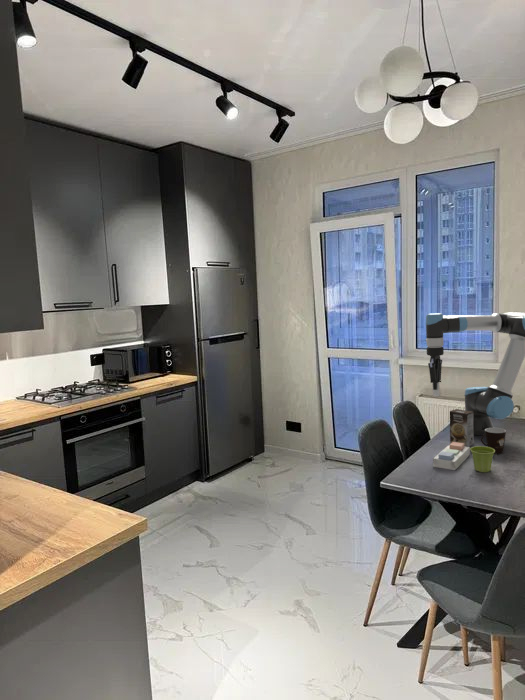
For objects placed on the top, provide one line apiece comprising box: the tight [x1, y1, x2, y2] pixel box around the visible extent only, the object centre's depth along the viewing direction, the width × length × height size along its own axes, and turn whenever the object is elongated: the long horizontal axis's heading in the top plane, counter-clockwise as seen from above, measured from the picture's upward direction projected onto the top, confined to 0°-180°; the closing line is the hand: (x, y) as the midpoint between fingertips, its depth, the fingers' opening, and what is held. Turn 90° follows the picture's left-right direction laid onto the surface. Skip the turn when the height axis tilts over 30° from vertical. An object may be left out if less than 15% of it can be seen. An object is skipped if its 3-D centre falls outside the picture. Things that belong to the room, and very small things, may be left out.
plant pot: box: [470, 445, 495, 473], centre depth 208 cm, size 9×9×9 cm
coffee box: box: [449, 408, 475, 447], centre depth 243 cm, size 9×6×16 cm
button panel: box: [432, 444, 471, 471], centre depth 222 cm, size 22×9×4 cm, turn 143°
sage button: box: [445, 449, 460, 456], centre depth 222 cm, size 5×5×3 cm
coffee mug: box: [480, 427, 507, 455], centre depth 229 cm, size 12×9×10 cm
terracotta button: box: [450, 442, 464, 451], centre depth 227 cm, size 5×5×3 cm
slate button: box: [437, 450, 454, 461], centre depth 216 cm, size 5×5×3 cm
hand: (436, 396), depth 240 cm, fingers closed
